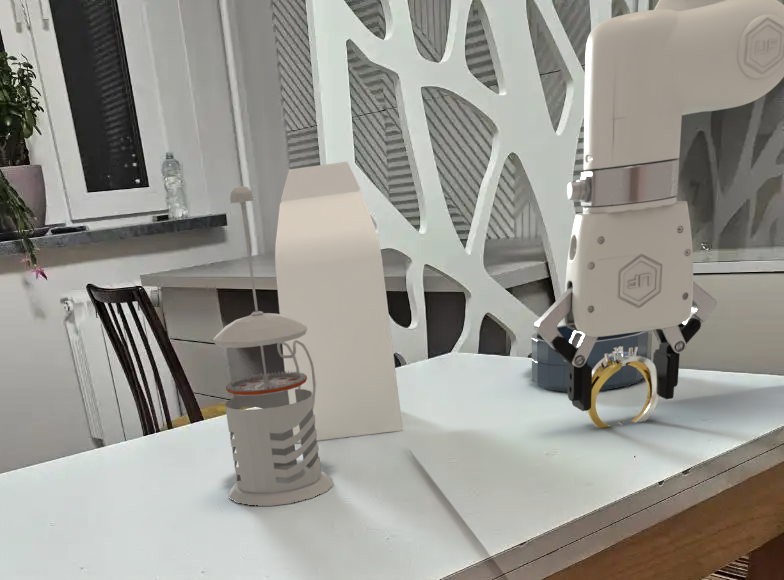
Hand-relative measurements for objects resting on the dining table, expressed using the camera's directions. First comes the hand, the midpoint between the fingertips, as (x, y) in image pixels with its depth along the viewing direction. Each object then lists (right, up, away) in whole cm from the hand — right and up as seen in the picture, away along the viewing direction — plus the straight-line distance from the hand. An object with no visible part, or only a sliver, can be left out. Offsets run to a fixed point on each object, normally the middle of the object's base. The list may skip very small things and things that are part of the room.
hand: (621, 400), depth 84 cm
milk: (-25, +2, +18) cm, 31 cm away
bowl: (+4, +9, +23) cm, 25 cm away
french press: (-31, -8, 0) cm, 32 cm away
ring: (0, -3, +2) cm, 3 cm away
